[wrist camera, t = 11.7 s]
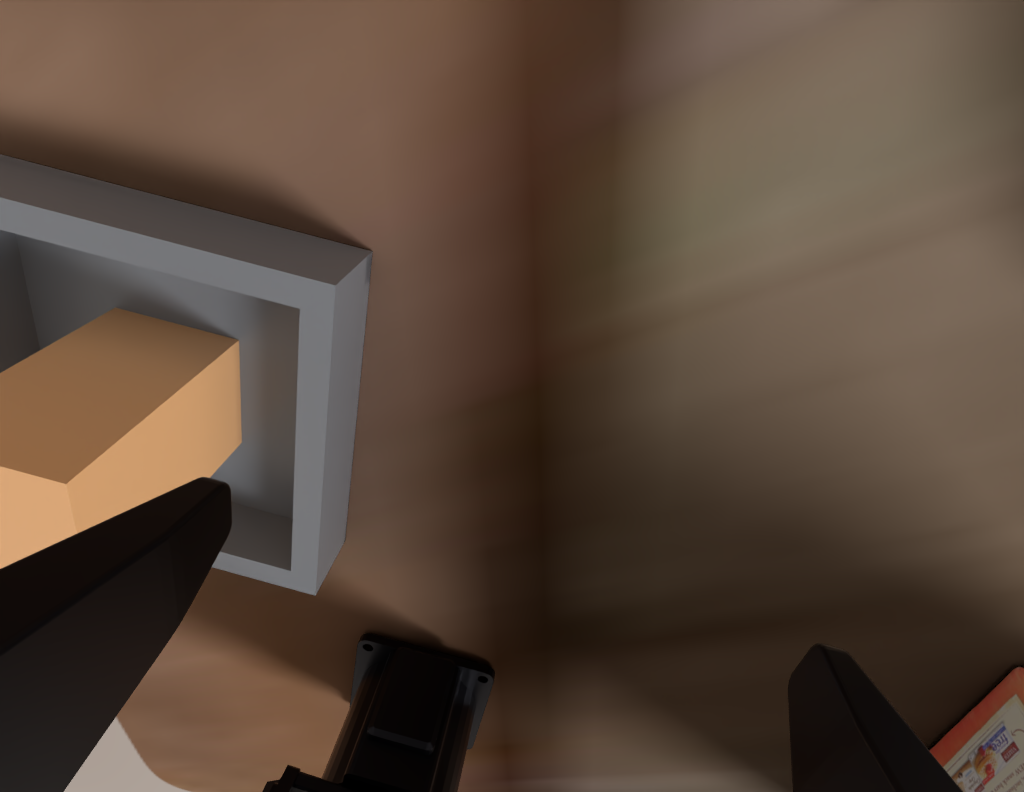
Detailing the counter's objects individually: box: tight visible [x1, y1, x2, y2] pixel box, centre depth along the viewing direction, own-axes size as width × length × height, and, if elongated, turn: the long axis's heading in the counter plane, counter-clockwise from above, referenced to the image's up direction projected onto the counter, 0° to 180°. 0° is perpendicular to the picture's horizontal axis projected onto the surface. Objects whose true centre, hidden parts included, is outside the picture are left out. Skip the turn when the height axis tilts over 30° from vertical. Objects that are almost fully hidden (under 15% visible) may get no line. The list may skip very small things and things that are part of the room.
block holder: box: [0, 154, 373, 596], centre depth 23 cm, size 13×13×3 cm
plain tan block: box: [0, 308, 242, 569], centre depth 20 cm, size 4×4×8 cm
